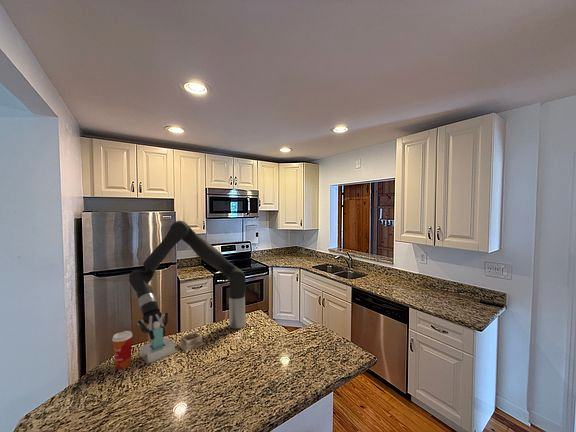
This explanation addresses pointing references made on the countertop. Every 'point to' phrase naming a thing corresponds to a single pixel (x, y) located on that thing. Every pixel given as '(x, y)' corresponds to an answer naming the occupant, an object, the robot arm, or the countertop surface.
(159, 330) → the teal bottle
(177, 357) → the countertop surface
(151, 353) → the block
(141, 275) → the robot arm
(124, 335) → the paper cup
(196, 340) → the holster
